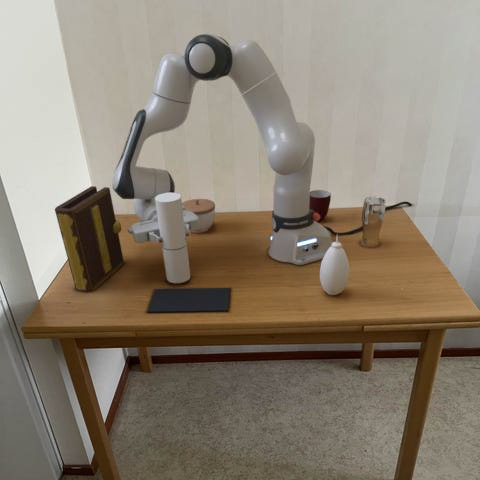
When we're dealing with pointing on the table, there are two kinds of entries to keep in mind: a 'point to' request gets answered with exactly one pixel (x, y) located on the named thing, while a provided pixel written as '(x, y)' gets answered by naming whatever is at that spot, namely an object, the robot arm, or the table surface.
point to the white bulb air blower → (334, 269)
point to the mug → (320, 203)
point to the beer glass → (372, 220)
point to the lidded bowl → (202, 212)
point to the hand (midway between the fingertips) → (174, 237)
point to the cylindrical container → (173, 236)
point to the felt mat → (189, 300)
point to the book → (90, 237)
